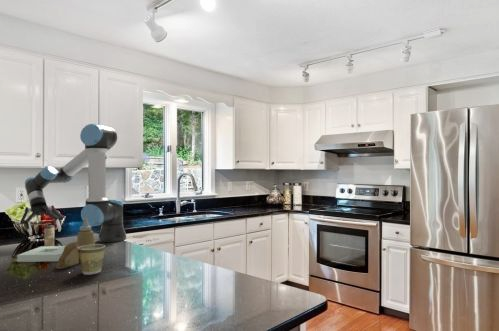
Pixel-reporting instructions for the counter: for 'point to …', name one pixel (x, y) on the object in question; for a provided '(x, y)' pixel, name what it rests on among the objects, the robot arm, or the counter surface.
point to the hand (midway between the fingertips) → (45, 231)
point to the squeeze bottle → (85, 235)
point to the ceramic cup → (91, 258)
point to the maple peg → (49, 235)
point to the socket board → (41, 254)
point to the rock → (69, 256)
